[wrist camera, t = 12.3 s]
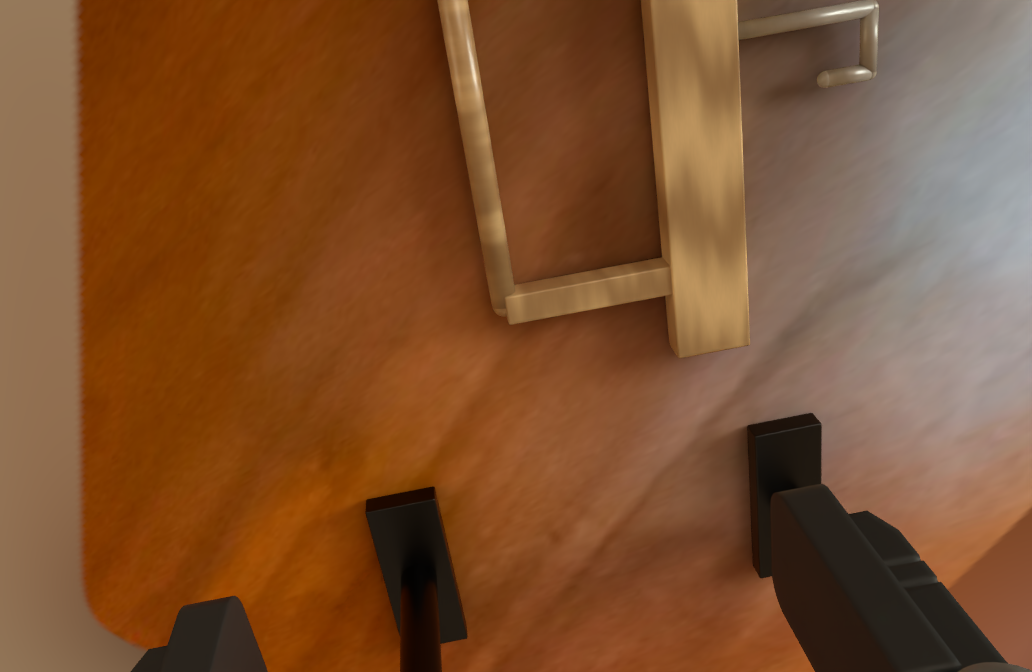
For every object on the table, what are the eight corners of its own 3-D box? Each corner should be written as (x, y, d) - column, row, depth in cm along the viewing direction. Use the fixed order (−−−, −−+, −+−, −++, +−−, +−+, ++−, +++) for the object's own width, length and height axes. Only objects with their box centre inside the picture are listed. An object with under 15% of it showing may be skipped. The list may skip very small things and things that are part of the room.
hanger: (390, -263, 25) (899, -343, 26) (391, -253, 26) (876, -330, 27) (507, 392, 35) (877, 321, 35) (503, 376, 36) (860, 308, 36)
